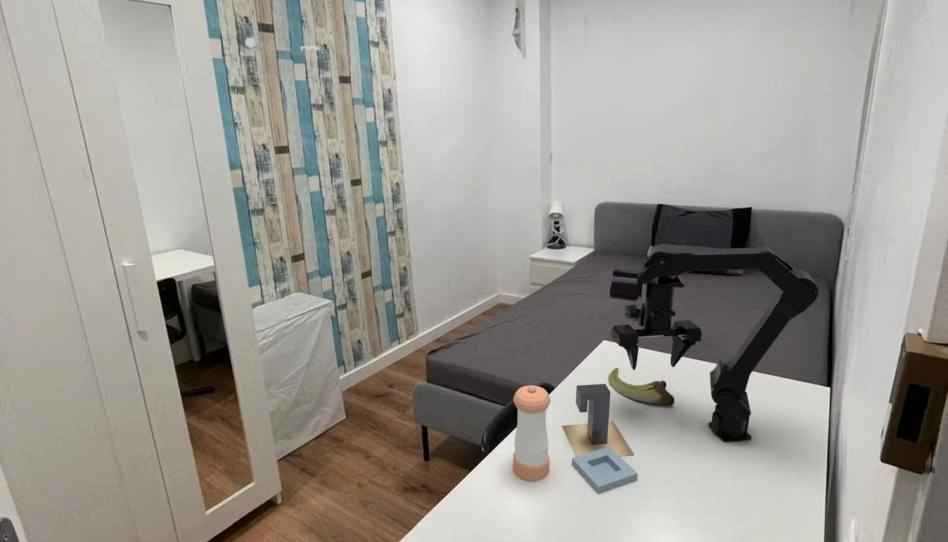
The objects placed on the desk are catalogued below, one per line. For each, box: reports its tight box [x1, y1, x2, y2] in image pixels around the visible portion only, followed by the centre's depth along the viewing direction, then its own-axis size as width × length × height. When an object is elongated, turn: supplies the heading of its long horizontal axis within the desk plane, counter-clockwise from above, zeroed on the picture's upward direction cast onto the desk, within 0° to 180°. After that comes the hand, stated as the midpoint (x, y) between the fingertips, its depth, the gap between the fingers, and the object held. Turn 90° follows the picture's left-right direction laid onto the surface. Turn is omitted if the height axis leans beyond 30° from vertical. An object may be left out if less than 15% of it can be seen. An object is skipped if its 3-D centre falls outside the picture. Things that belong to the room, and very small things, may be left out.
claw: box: [608, 367, 675, 406], centre depth 130 cm, size 20×10×3 cm, turn 41°
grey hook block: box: [575, 383, 611, 445], centre depth 109 cm, size 6×3×13 cm, turn 94°
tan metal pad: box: [561, 420, 635, 458], centre depth 111 cm, size 12×12×1 cm
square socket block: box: [571, 447, 638, 495], centre depth 101 cm, size 9×9×2 cm
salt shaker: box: [512, 385, 551, 482], centre depth 100 cm, size 7×7×19 cm
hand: (652, 367), depth 115 cm, fingers open, 9 cm apart
